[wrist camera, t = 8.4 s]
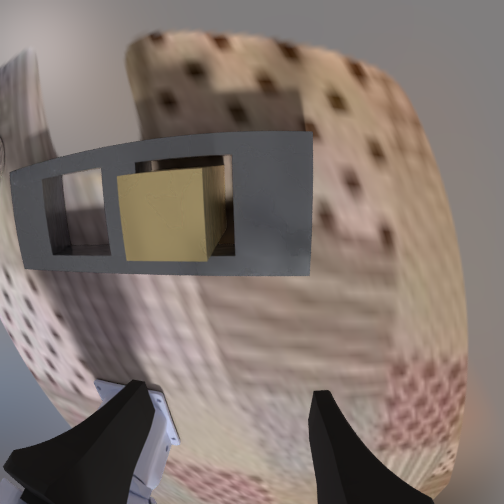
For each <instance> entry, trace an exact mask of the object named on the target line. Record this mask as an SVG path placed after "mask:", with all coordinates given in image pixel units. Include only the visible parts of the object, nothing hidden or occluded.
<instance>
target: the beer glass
mask: <svg viewBox="0 0 504 504" xmlns="http://www.w3.org/2000/svg"><path fill="white" fill-rule="evenodd" d="M3 169H4V147H3V143H2V140H1V138H0V180H1V177H2V174H3Z"/></svg>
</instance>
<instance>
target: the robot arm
mask: <svg viewBox="0 0 504 504" xmlns="http://www.w3.org/2000/svg"><path fill="white" fill-rule="evenodd" d="M94 385H95V387H96V389H97V391H98V393H99V395H100V397H101V399H102V401H103V402H102V403H101V405H100V407H99V408H98V410H97V411H96V412H95V413H94V414H92V415H91V416H90V417H88V418H87V419H86V420H84V421H83V422H81V423H80V424H78V425H77V426H75V427H73V428H72V429H70V430H68V431H67V432H65V433H63V434H61V435H59V436H57V437H55V438H52V439H50V440H48V441H45V442H42V443H40V444H37V445H34V446H30V447H26V448H22V449H17V450H14V451H13V452H12V453H11V455H10V456H9V458H8V460H7V461H6V463H5V464H4V466H3V467H4V470H5V471H6V472H7V473H8V474H9V475H10V476H11V477H12V478H14V479H15V480H16V481H17V482H18V483H20V484H21V485H22V486H23V487H24V488H25V489H24V491H22V490H20V489H19V488H18V487H16V486H15V485H14V484H12V483H11V482H10V481H8V480H7V479H6V478H3V479H2V481H1V483H0V504H157V503H156V501H155V499H154V498H152V497H150V495H151V492H152V490H153V489H155V488H156V487H157V486H158V484H159V483H160V481H161V478H162V474H163V471H164V468H165V464H166V461H167V458H168V455H169V451H170V448H171V445H180V439H179V437H178V434H177V432H176V429H175V426H174V424H173V421H172V418H171V416H170V413H169V410H168V407H167V404H166V401H165V398H164V395H163V394H162V393H161V392H158V391H152V390H148V389H147V387H146V384H145V382H144V381H138V380H132V381H131V382H129V383H128V384H127V385H126V386H125V385H120V384H115V383H111V382H106V381H102V380H98V379H96V380H95V381H94ZM308 425H309V441H310V447H311V453H312V459H313V465H314V470H315V476H316V483H317V499H318V504H434V502H433V500H432V498H431V497H429V496H427V495H425V494H423V493H421V492H420V491H418V490H416V489H415V488H413V487H412V486H410V485H409V484H407V483H406V482H404V481H403V480H402V479H400V478H399V477H398V476H396V475H395V474H394V473H393V472H392V471H390V470H389V469H388V468H387V467H386V466H385V465H383V464H382V463H381V462H380V461H379V460H378V459H377V458H376V457H375V456H374V455H373V454H372V452H371V451H370V450H369V449H368V448H367V447H366V446H365V444H364V443H363V442H362V441H361V439H360V438H359V437H358V436H357V434H356V433H355V432H354V430H353V429H352V427H351V426H350V424H349V423H348V422H347V420H346V419H345V417H344V415H343V414H342V412H341V410H340V409H339V407H338V405H337V404H336V402H335V400H334V398H333V396H332V394H331V392H330V391H329V390H321V391H314V392H313V398H312V403H311V408H310V413H309V418H308Z"/></svg>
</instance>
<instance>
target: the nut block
mask: <svg viewBox="0 0 504 504" xmlns="http://www.w3.org/2000/svg"><path fill="white" fill-rule="evenodd" d="M117 185H118V197H119V207H120V216H121V225H122V233H123V240H124V247H125V253H126V259H127V261H195V262H207V261H208V259H209V258H210V256H211V254H212V253H213V251H214V249H215V247H216V246H217V244H218V242H219V240H220V239H221V237H222V235H223V234H224V232H225V230H226V205H225V177H224V165H221V166H202V167H186V168H173V169H162V170H155V171H147V172H140V173H134V174H127V175H121V176H117Z"/></svg>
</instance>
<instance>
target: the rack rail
mask: <svg viewBox="0 0 504 504" xmlns="http://www.w3.org/2000/svg"><path fill="white" fill-rule="evenodd" d="M224 155H232V171H233V204H234V232H235V244H217V246H216V247H215V249H214V251H213V253H212V254H211V256H210V258H209V259H208V261H207V262H195V261H127V259H126V253H125V247H124V240H123V233H122V225H121V216H120V207H119V197H118V185H117V176H121V175H127V174H134V173H140V172H147V171H151V161H158V160H168V159H179V158H191V157H206V156H224ZM99 168H101V172H102V186H103V197H104V207H105V215H106V223H107V231H108V237H109V244H110V245H71V244H70V238H69V232H68V226H67V219H66V212H65V204H64V195H63V185H62V175H66V174H71V173H77V172H82V171H87V170H93V169H99ZM10 184H11V194H12V203H13V211H14V218H15V224H16V230H17V236H18V241H19V246H20V251H21V255H22V260H23V264H24V268H25V269H34V270H52V271H72V272H94V273H120V274H153V275H201V276H310V258H311V236H312V203H313V132H305V131H243V132H221V133H206V134H194V135H183V136H174V137H165V138H157V139H150V140H143V141H136V142H130V143H125V144H119V145H113V146H108V147H103V148H98V149H93V150H88V151H84V152H79V153H75V154H71V155H67V156H63V157H59V158H55V159H51V160H48V161H44V162H41V163H37V164H34V165H31V166H27V167H24V168H21V169H18V170H15V171H12V172H10Z"/></svg>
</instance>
